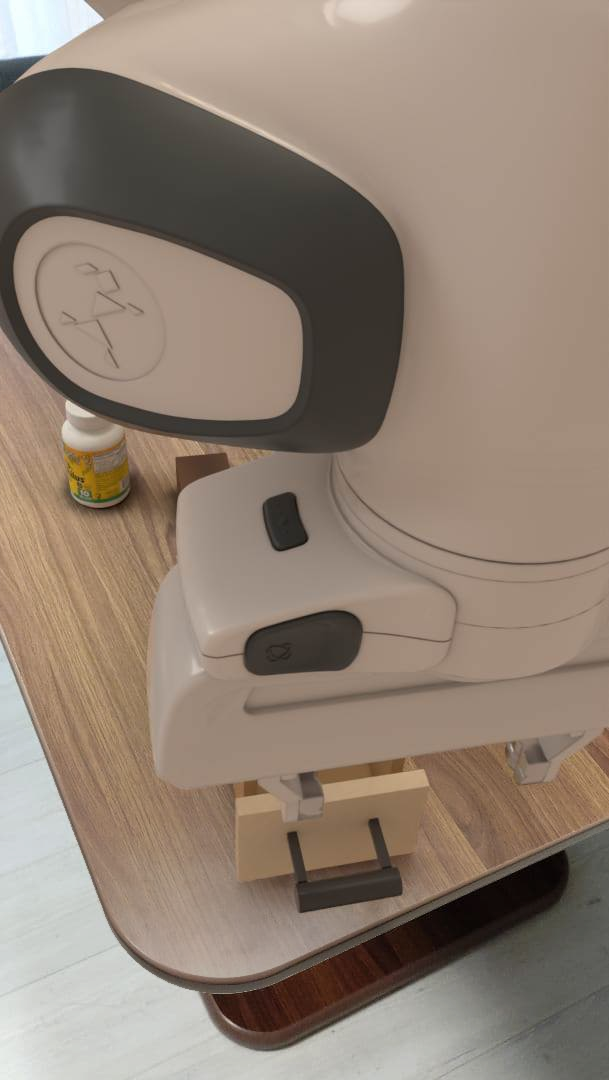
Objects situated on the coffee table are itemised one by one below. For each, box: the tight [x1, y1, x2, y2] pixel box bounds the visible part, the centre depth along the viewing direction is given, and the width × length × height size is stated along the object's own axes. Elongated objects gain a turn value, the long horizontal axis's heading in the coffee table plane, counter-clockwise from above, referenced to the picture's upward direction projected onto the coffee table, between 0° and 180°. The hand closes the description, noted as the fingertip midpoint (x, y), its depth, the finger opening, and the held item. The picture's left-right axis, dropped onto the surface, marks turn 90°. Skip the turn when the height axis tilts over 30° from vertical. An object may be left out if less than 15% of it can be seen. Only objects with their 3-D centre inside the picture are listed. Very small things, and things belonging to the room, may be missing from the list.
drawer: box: [232, 758, 431, 915], centre depth 62 cm, size 17×11×8 cm, turn 12°
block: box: [174, 452, 231, 498], centre depth 86 cm, size 4×4×4 cm
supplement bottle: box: [61, 399, 131, 509], centre depth 85 cm, size 5×5×10 cm
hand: (415, 786), depth 38 cm, fingers open, 8 cm apart
